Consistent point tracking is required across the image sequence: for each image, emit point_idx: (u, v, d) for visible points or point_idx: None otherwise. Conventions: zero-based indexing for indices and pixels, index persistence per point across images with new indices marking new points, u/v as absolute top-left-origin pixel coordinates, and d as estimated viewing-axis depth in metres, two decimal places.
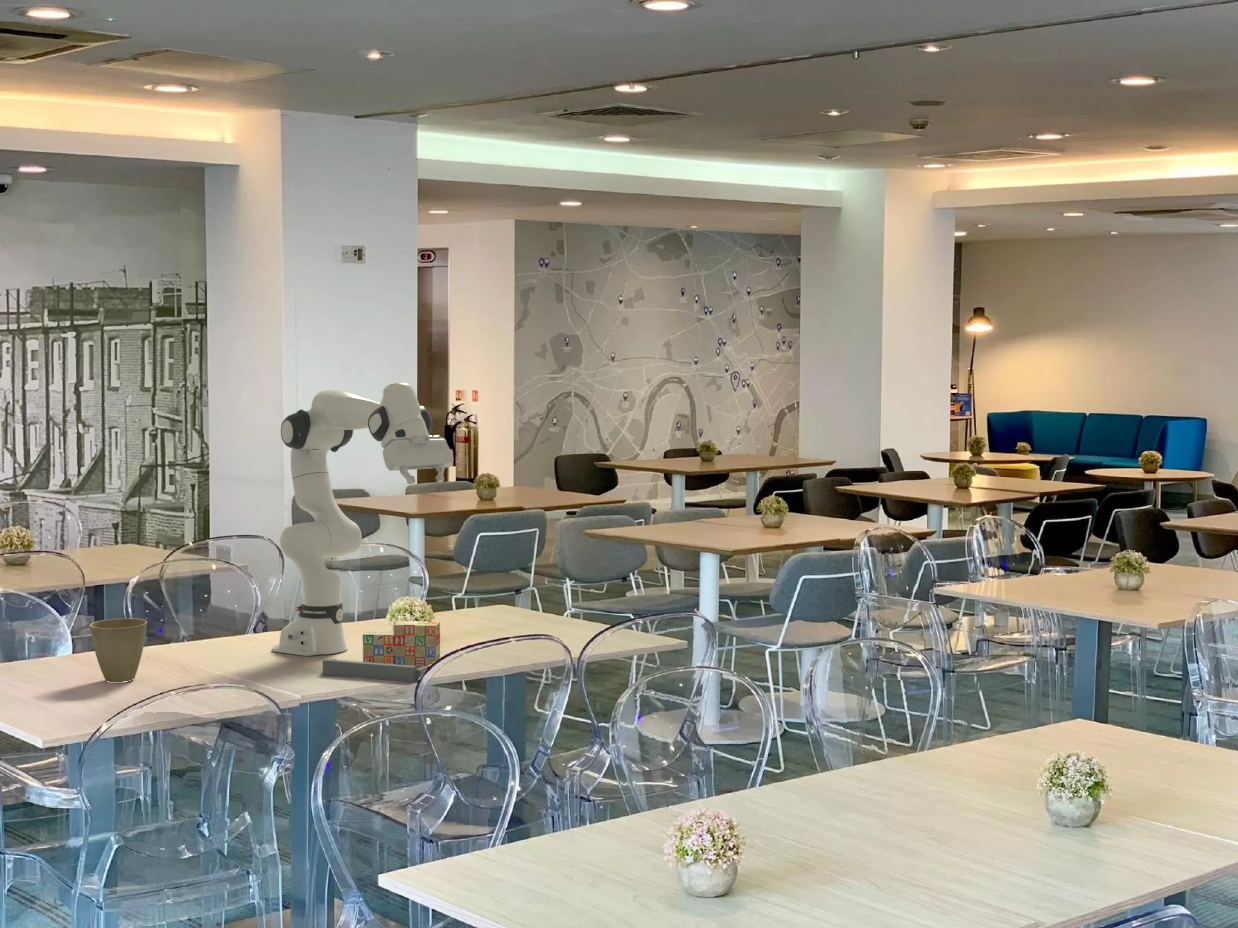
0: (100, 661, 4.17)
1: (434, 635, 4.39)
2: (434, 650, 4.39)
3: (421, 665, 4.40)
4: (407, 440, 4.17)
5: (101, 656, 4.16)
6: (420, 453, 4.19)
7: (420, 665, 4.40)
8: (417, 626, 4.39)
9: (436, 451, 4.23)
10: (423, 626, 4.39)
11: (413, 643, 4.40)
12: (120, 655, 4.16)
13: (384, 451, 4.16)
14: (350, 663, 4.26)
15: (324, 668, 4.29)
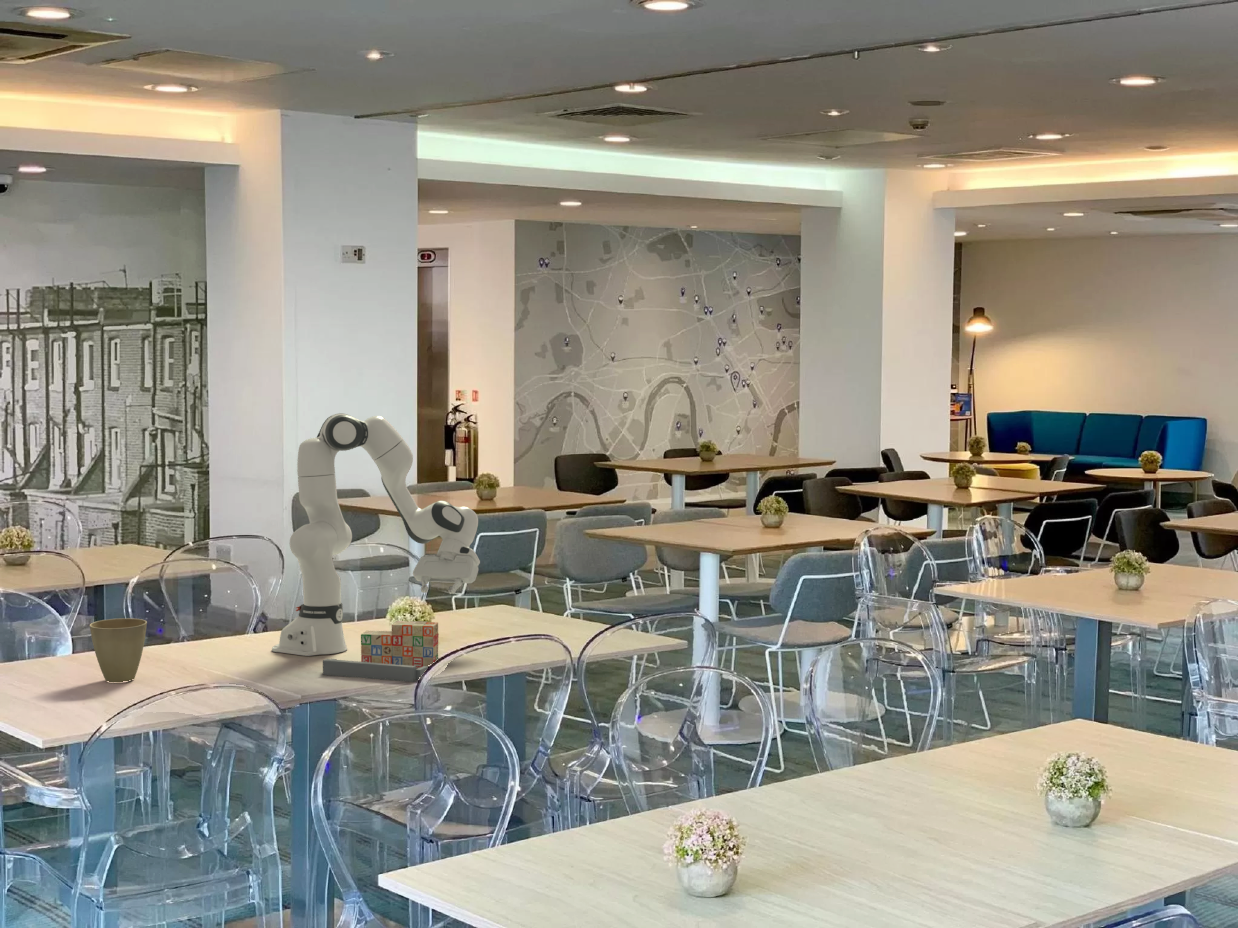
0: (100, 661, 4.17)
1: (432, 635, 4.39)
2: (432, 650, 4.39)
3: (419, 665, 4.40)
4: None
5: (101, 656, 4.16)
6: None
7: (418, 665, 4.40)
8: (415, 626, 4.39)
9: None
10: (421, 626, 4.39)
11: (410, 643, 4.40)
12: (120, 655, 4.16)
13: (474, 563, 4.63)
14: (350, 663, 4.26)
15: (324, 668, 4.29)
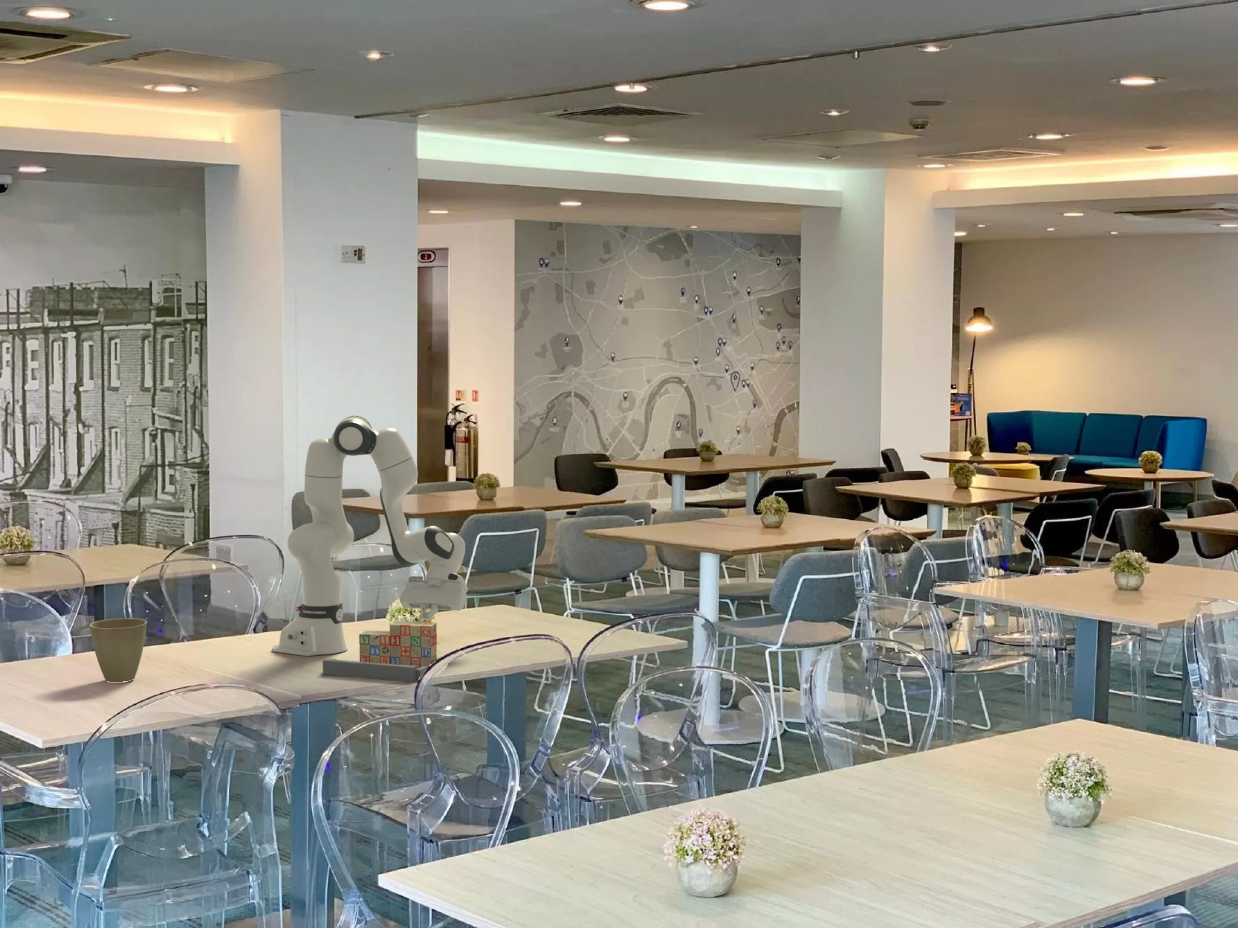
0: (100, 661, 4.17)
1: (429, 635, 4.38)
2: (429, 650, 4.39)
3: (417, 665, 4.39)
4: None
5: (101, 656, 4.16)
6: None
7: (416, 665, 4.39)
8: (413, 626, 4.39)
9: None
10: (419, 626, 4.39)
11: (408, 643, 4.39)
12: (120, 655, 4.16)
13: (463, 590, 4.58)
14: (350, 663, 4.26)
15: (324, 668, 4.29)
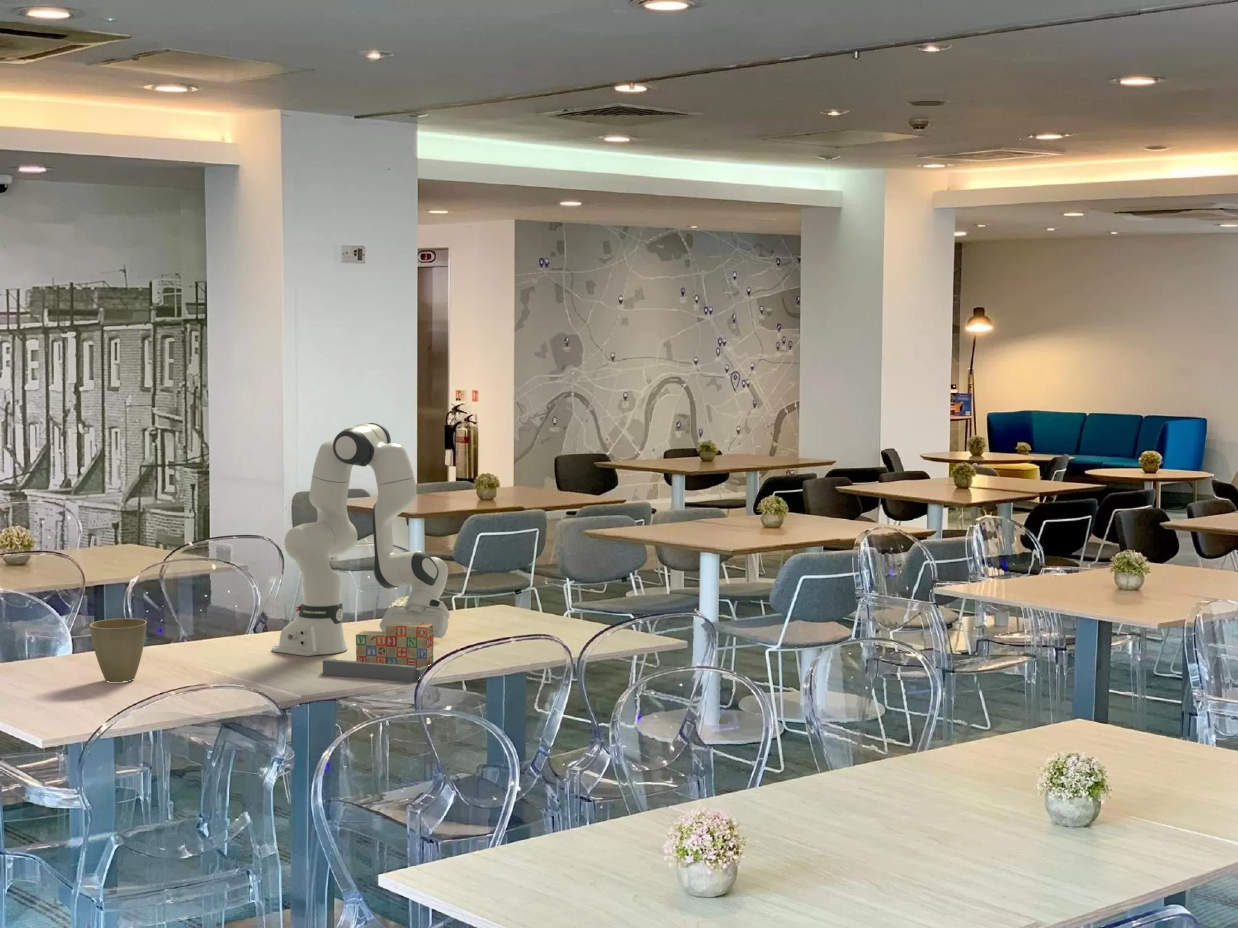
0: (100, 661, 4.17)
1: (425, 636, 4.37)
2: (425, 652, 4.37)
3: None
4: None
5: (101, 656, 4.16)
6: None
7: None
8: (409, 627, 4.37)
9: None
10: (415, 627, 4.37)
11: (405, 644, 4.38)
12: (120, 655, 4.16)
13: (444, 616, 4.48)
14: (350, 663, 4.26)
15: (324, 668, 4.29)
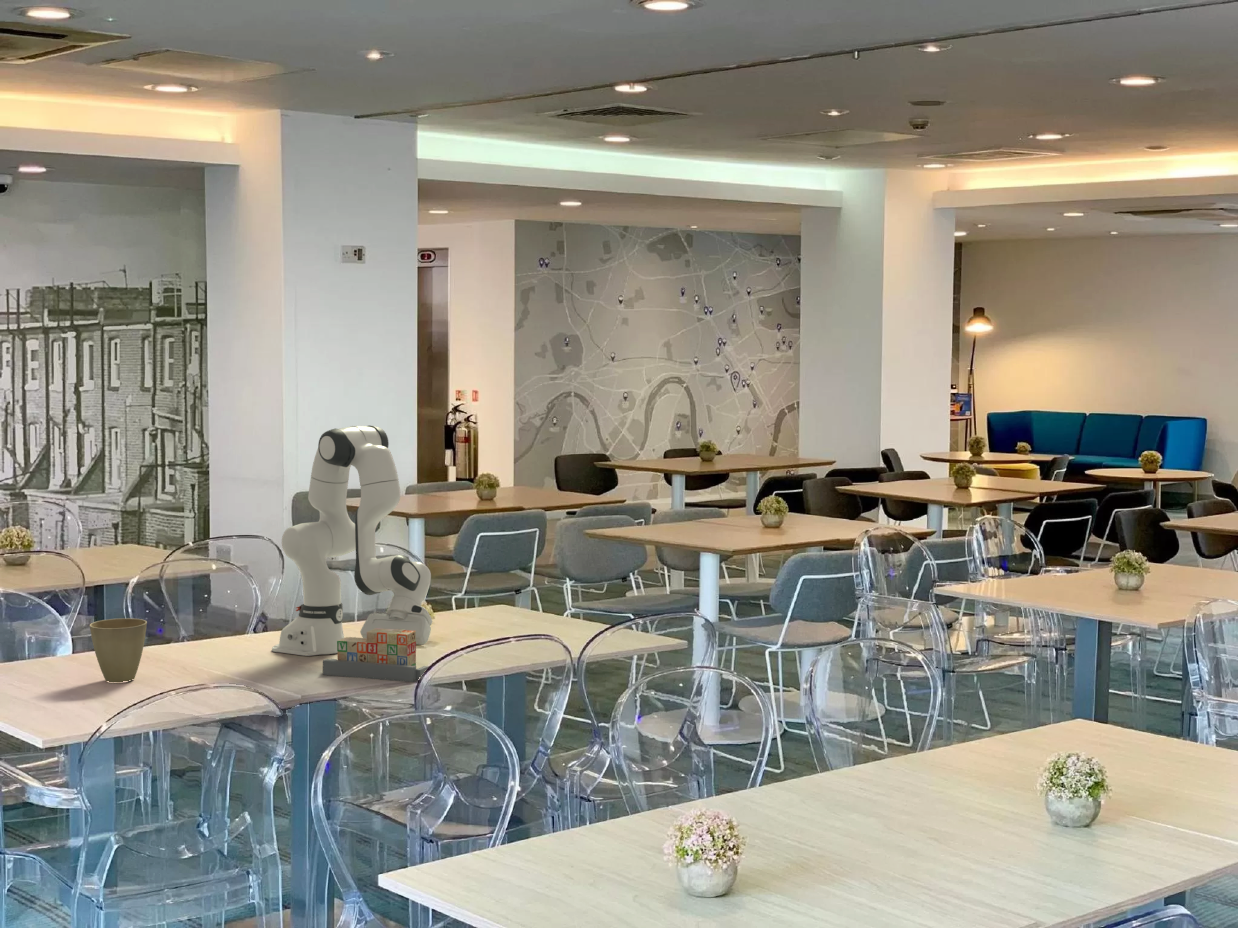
0: (100, 661, 4.17)
1: (406, 644, 4.25)
2: (406, 659, 4.26)
3: None
4: None
5: (101, 656, 4.16)
6: None
7: None
8: (389, 634, 4.26)
9: None
10: (395, 634, 4.26)
11: (385, 651, 4.27)
12: (120, 655, 4.16)
13: (427, 623, 4.37)
14: (350, 663, 4.26)
15: (324, 668, 4.29)
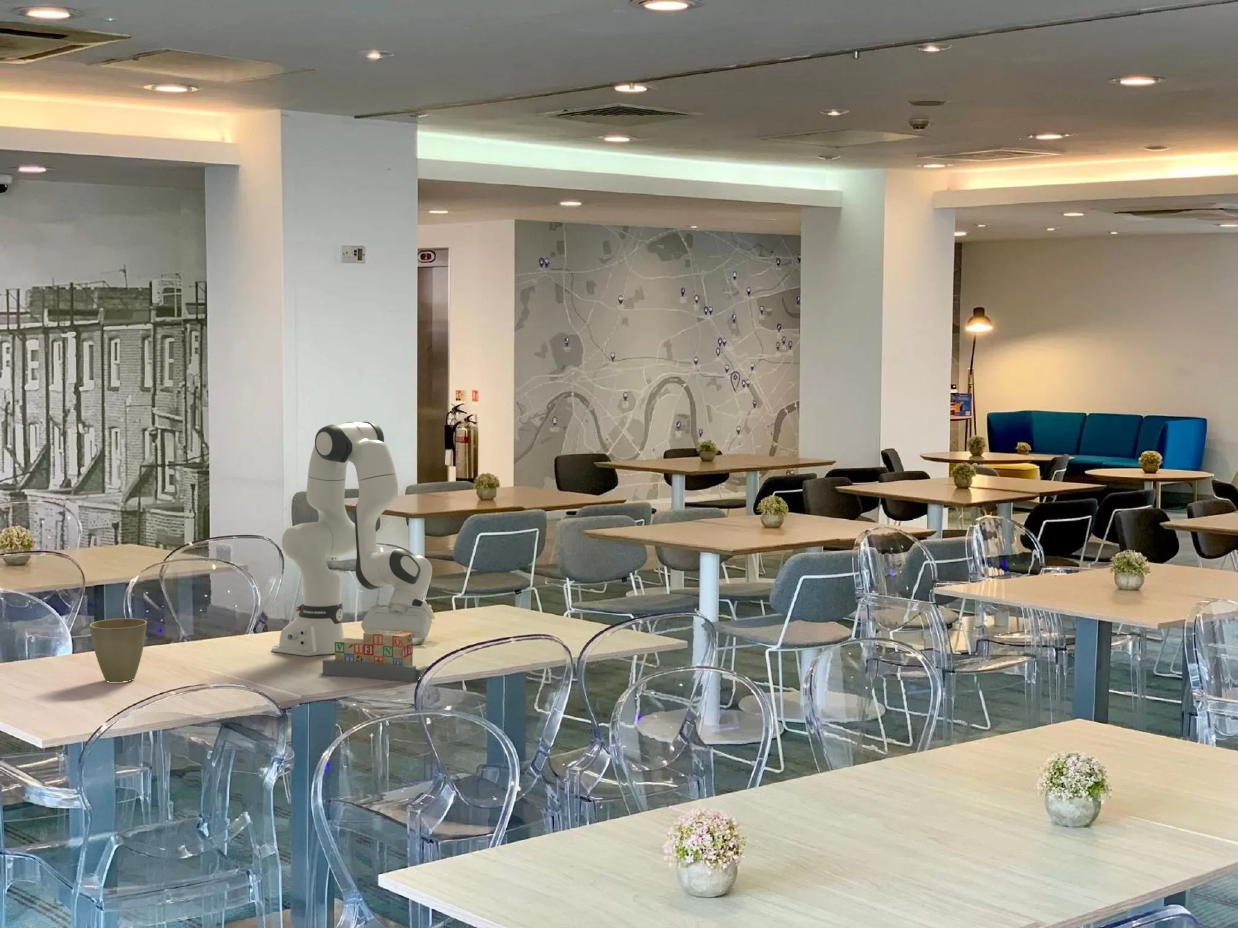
0: (100, 661, 4.17)
1: (401, 646, 4.23)
2: (401, 661, 4.23)
3: None
4: None
5: (101, 656, 4.16)
6: None
7: None
8: (385, 636, 4.24)
9: None
10: (391, 636, 4.24)
11: (381, 653, 4.25)
12: (120, 655, 4.16)
13: (427, 617, 4.38)
14: (350, 663, 4.26)
15: (324, 668, 4.29)
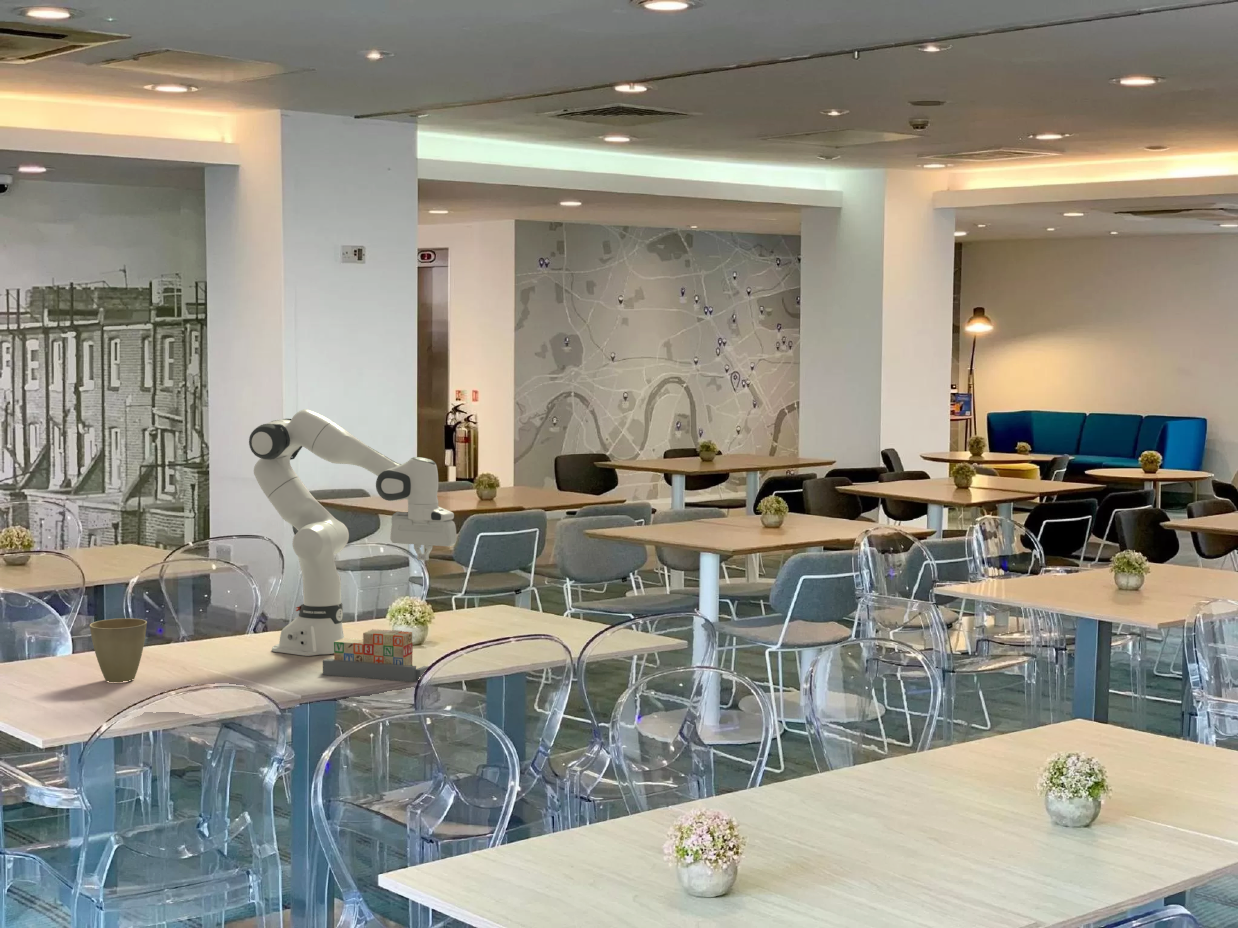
0: (100, 661, 4.17)
1: (402, 645, 4.24)
2: (402, 661, 4.24)
3: None
4: None
5: (101, 656, 4.16)
6: None
7: None
8: (385, 635, 4.25)
9: None
10: (391, 635, 4.25)
11: (381, 652, 4.26)
12: (120, 655, 4.16)
13: (450, 526, 4.47)
14: (350, 663, 4.26)
15: (324, 668, 4.29)
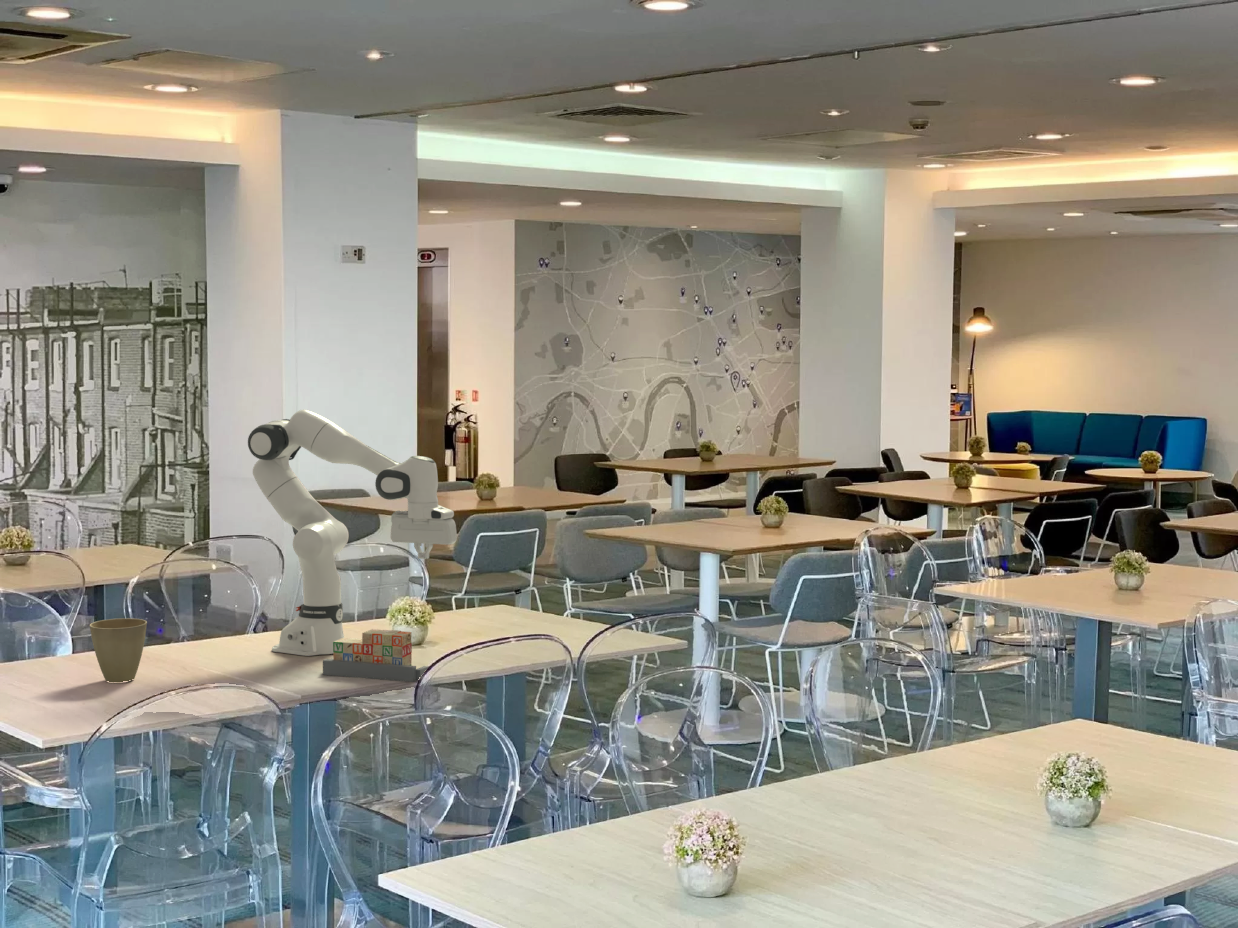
0: (100, 661, 4.17)
1: (401, 645, 4.24)
2: (401, 661, 4.24)
3: None
4: None
5: (101, 656, 4.16)
6: None
7: None
8: (384, 635, 4.25)
9: None
10: (390, 636, 4.25)
11: (380, 652, 4.26)
12: (120, 655, 4.16)
13: (450, 525, 4.47)
14: (350, 663, 4.26)
15: (324, 668, 4.29)
